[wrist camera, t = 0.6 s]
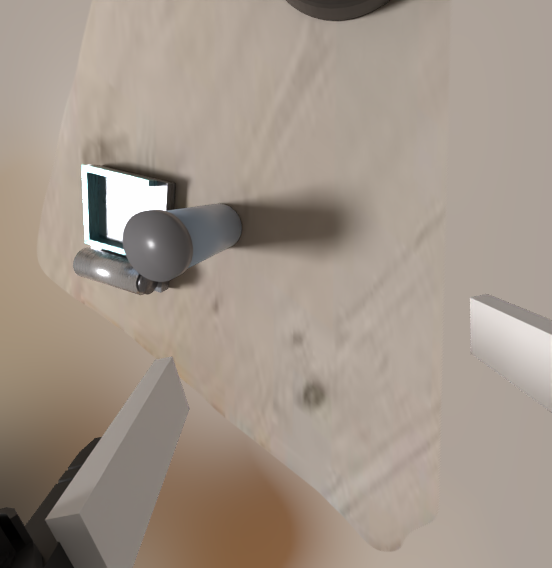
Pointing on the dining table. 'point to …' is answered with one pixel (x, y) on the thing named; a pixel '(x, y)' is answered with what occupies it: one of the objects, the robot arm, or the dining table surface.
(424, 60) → the dining table surface
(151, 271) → the ball
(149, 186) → the motor mount
